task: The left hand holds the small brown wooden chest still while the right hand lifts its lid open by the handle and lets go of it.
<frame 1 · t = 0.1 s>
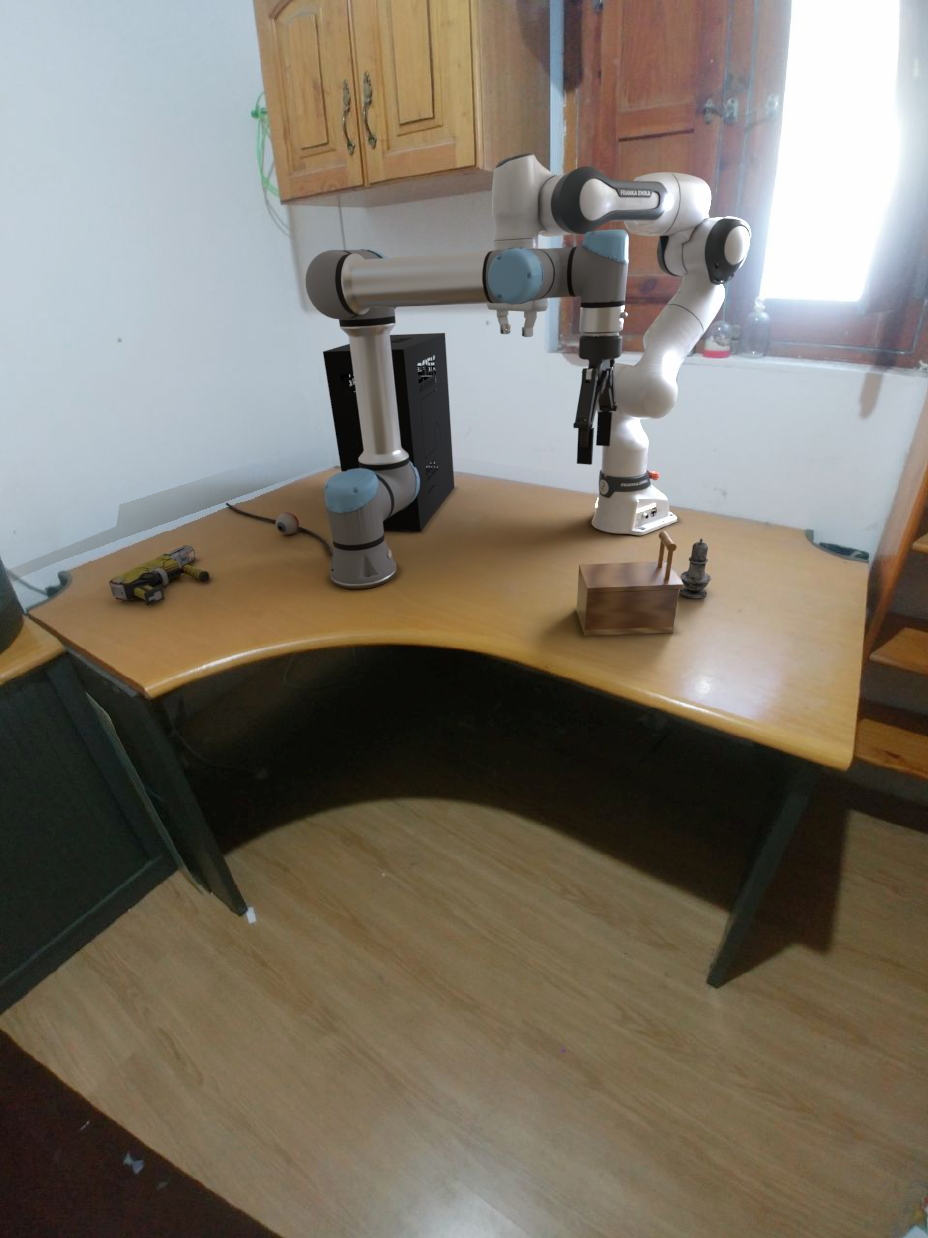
left hand: (594, 454, 117), 28 cm above the table, tool pointing down, fingers open, 13 cm apart
right hand: (516, 335, 125), 48 cm above the table, tool pointing down, fingers open, 8 cm apart
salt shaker: (693, 593, 125), on the table
eyeball: (289, 534, 165), on the table
chest: (622, 620, 116), on the table
black computer tower: (406, 507, 180), on the table
toy gun: (175, 583, 142), on the table
lid: (630, 559, 110), point 13 cm above the table, hinge at 0.0°
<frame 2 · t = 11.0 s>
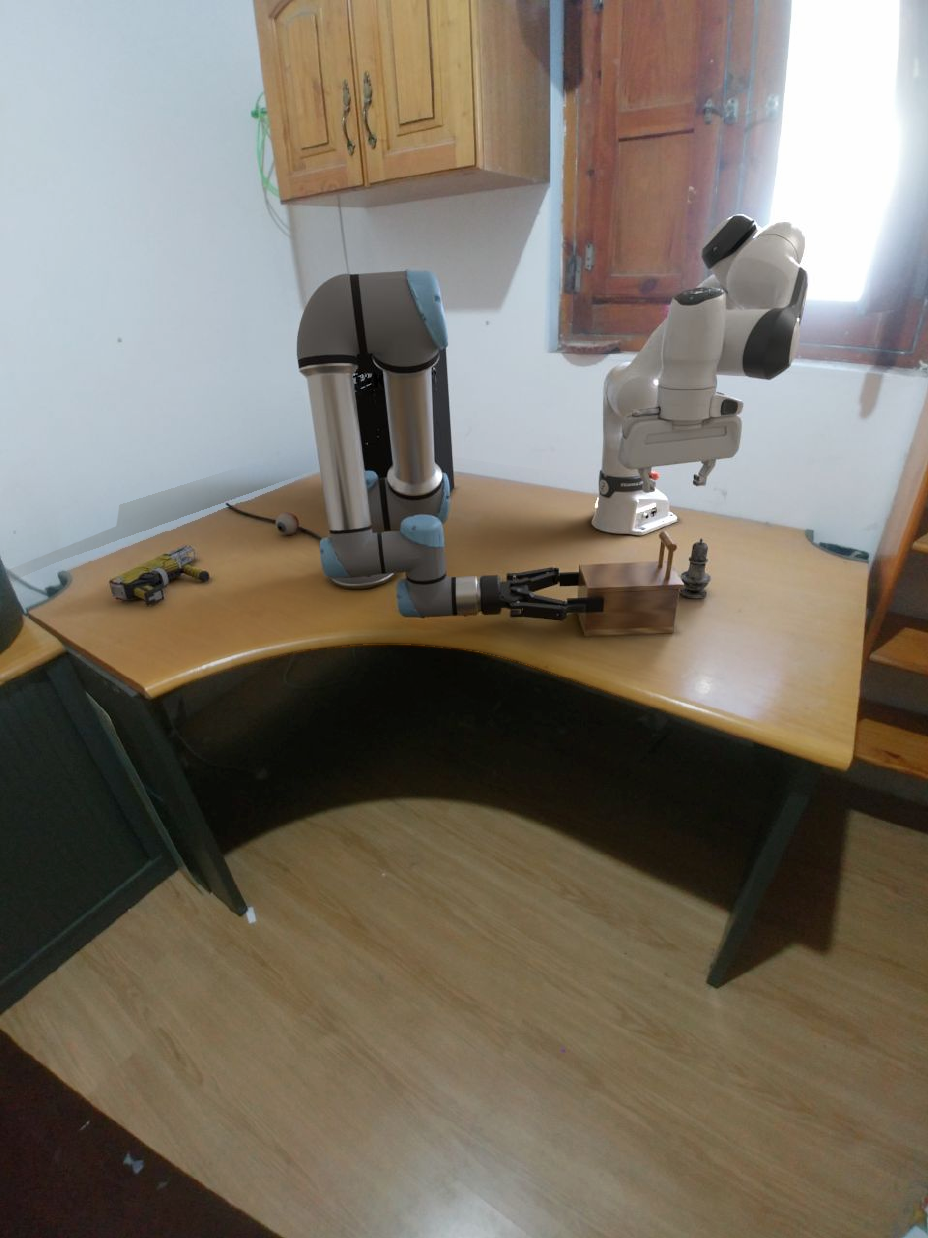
left hand: (597, 590, 113), 7 cm above the table, tool horizontal, fingers closed on chest, 10 cm apart
right hand: (673, 488, 103), 26 cm above the table, tool pointing down, fingers open, 8 cm apart
chest: (623, 620, 116), on the table, touching left hand
everything else where it was.
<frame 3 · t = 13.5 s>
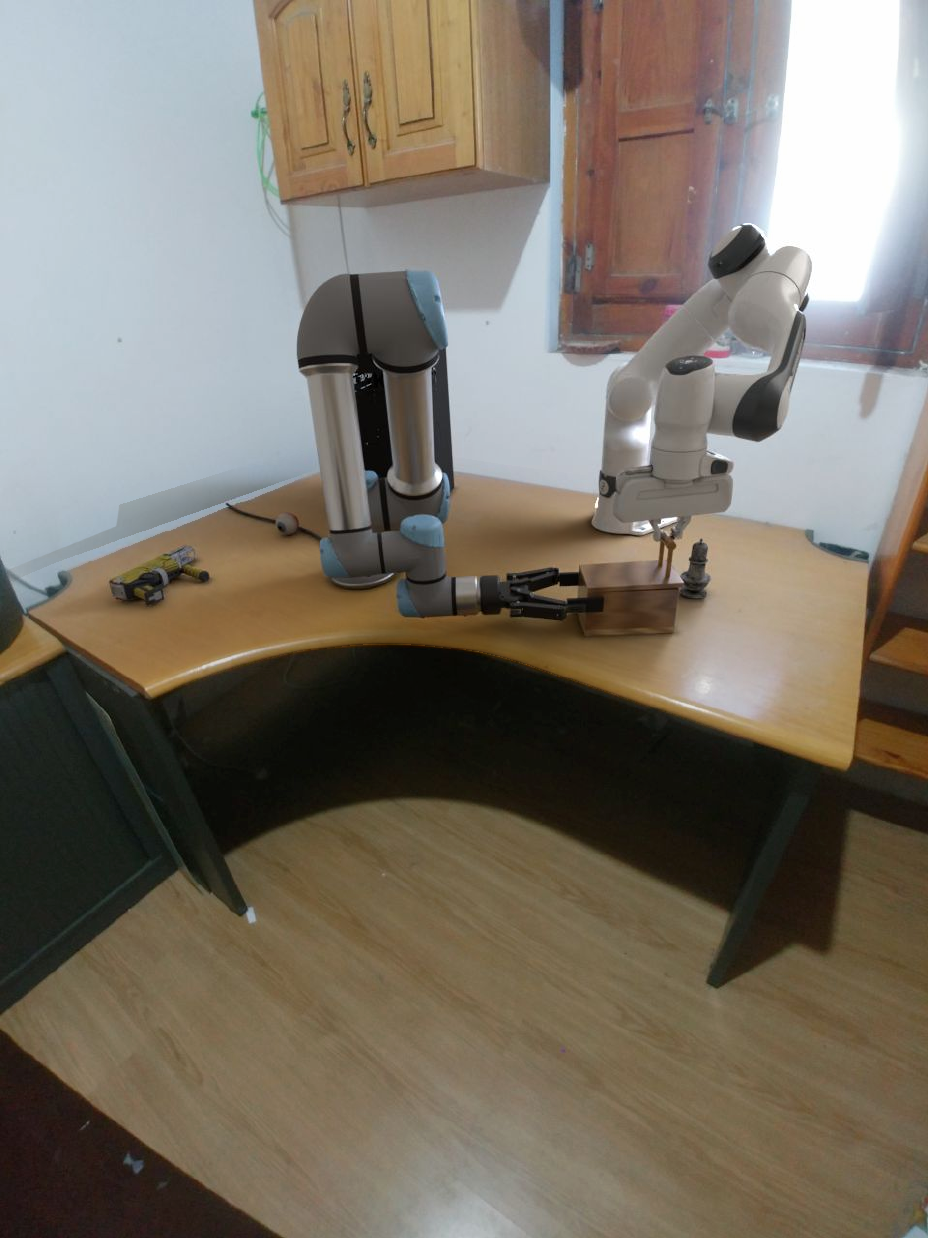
left hand: (597, 590, 113), 7 cm above the table, tool horizontal, fingers closed on chest, 10 cm apart
right hand: (667, 539, 108), 17 cm above the table, tool pointing down, fingers closed on lid, 2 cm apart
chest: (623, 620, 116), on the table, touching left hand
lid: (630, 558, 110), point 13 cm above the table, hinge at 1.1°, touching right hand
everything else where it was.
when the left hand's fingers open (7 cm above the table, at t = 20.5 s): chest stays where it is, on the table.
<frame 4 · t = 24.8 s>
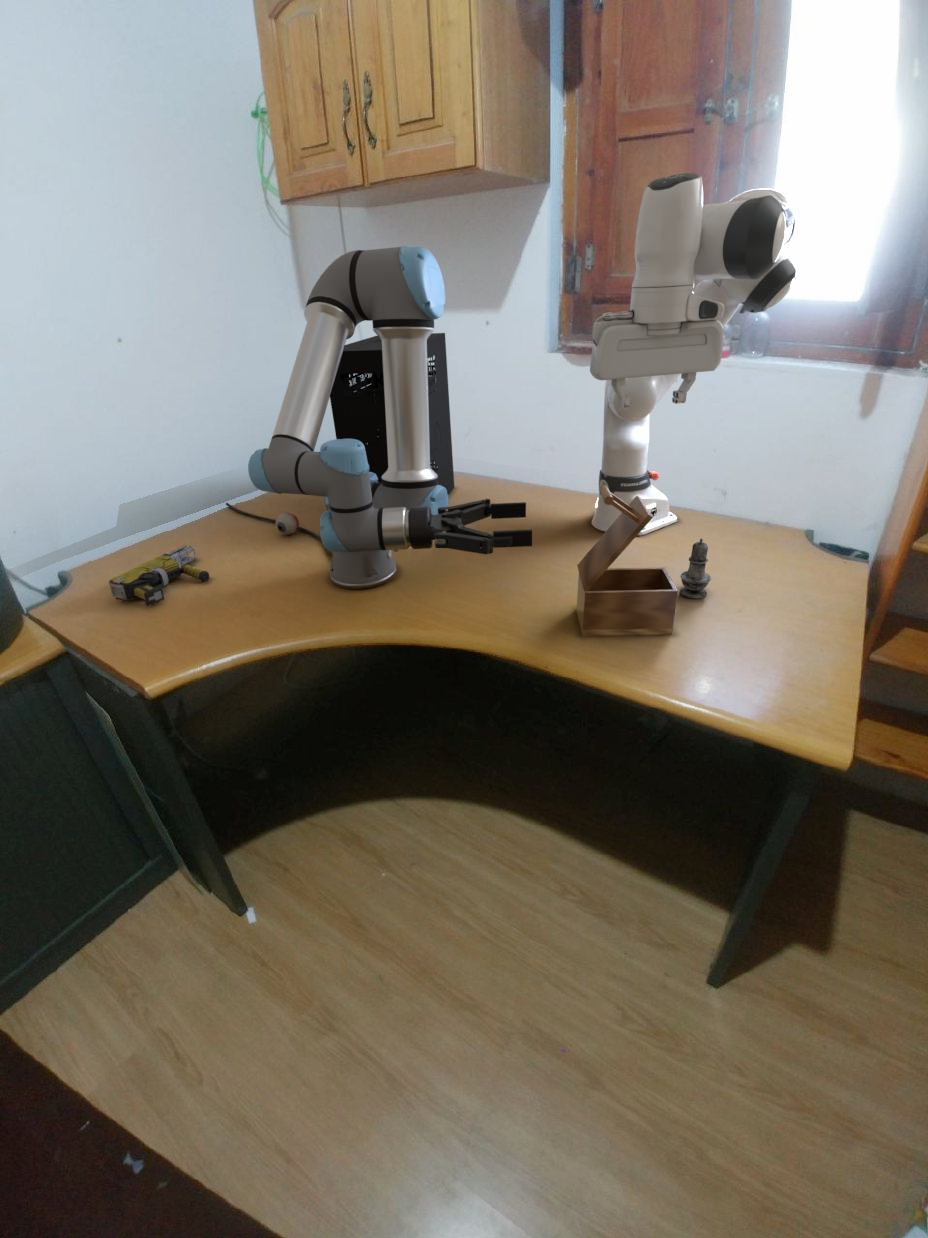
left hand: (529, 522, 107), 21 cm above the table, tool horizontal, fingers open, 13 cm apart
right hand: (651, 405, 96), 40 cm above the table, tool pointing down, fingers open, 8 cm apart
chest: (622, 621, 116), on the table
lid: (597, 532, 107), point 18 cm above the table, hinge at 53.5°
everything else where it was.
at the end: lid at +54° (first picture: +0°); the left hand is holding nothing; the right hand is holding nothing; chest tilted 0°; chest never tilted more than 2° during the clip; chest moved 0.3 cm from its start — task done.
